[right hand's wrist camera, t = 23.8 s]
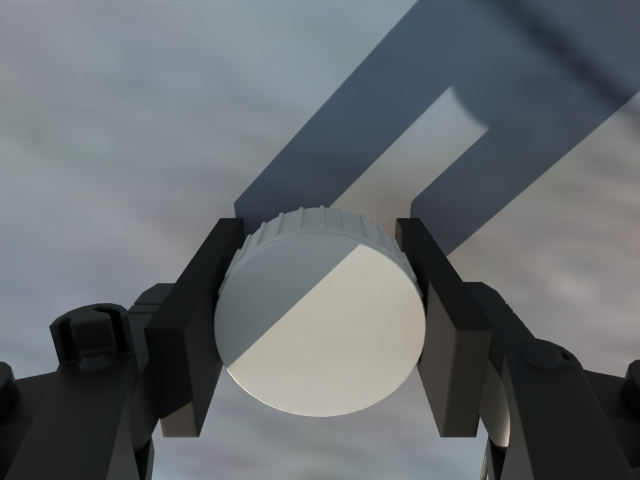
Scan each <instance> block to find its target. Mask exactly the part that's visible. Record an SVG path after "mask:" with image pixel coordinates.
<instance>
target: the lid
mask: <svg viewBox="0 0 640 480" xmlns="http://www.w3.org/2000/svg"><path fill="white" fill-rule="evenodd" d="M416 280H417V278H416V276H415V274H414V272H413V270H412V268H411V265H410V263H409V261H408V259H407V257H406V255H405V253H404V252H402V253H401V251H400V248H399V246H398V244H397V242H396V240H395V238H394V237H392V238H390V237H389V236H388V235H387V234H386V233H385V232H384V231H383V229H382V226H381V225H380V224H378V225H376V224H374V223H373V222H371V221H369V220H367V219H366V218H365V216H364V215H363V214H360V216H359V215H357V214H354V213H352V212H348V211H345V208H341V210H340V209H333V208H324V205H320V208H307V209H304V208H303V207H299V210H296V211H292V212H289V213H286V214H284V213H283V212H282V213H280V214H279V217H277V218H275V219H273V220H271V221H269V222H268V223H266V222H263V223H262V225H261V227H260V228H259V229H258V230H257V231H256V232H255V233H254V234H253V235H251V234H249V235H248V236H247V238H246V241H245V243H244V245H243V247H242V249H241V250H240V249H238V250H237V252H236V254H235V256H234V258H233V260H232V262H231V264H230V266H229V268H228V271H227V273H226V275H225V278H224V280H223V283H222V285H221V287H220V289H219V291H218V294H217V295H219V299H218V301H217V304H216V309H215V314H214V332H215V341H216V346H217V350H218V352H219V355H220V357H221V360H222V362H223V364H224V365H225V367H226V369H227V370H228V372H229V373H230V374H231V376H232V377H233V378H234V379H235V381H236V382H237V383H238V384H239V385H240V386H241V387H242V388H243V389H244V390H246V391H247V392H248V393H250V394H251V395H252V396H254V397H255V398H257V399H258V400H260V401H262V402H264V403H265V404H268V405H270V406H272V407H274V408H277V409H280V410H283V411H286V412H289V413H294V414H298V415H306V416H335V415H342V414H347V413H351V412H355V411H358V410H361V409H364V408H366V407H368V406H371V405H373V404H375V403H377V402H378V401H380V400H382V399H384V398H385V397H387V396H388V395H389V394H391V393H392V392H393V391H395V390H396V389H397V388H398V387H399V386H400V385H401V384H402V383H403V382H404V381H405V380H406V379H407V377H408V376H409V375H410V374H411V372H412V371H413V369H414V367H415V366H416V364H417V362H418V360H419V358H420V355H421V353H422V350H423V346H424V338H425V328H426V313H425V308H424V304H423V301H422V299H423V294H422V292H421V290H420V288H419V286H418V283H417V281H416Z"/></svg>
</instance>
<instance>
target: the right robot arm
mask: <svg viewBox="0 0 640 480" xmlns="http://www.w3.org/2000/svg"><path fill="white" fill-rule="evenodd" d="M395 240H396V242H397V244H398V246H399V248H400V251H401V253H402V252H404V253H405V255H406V257H407V259H408V261H409V263H410V265H411V268H412V270H413V272H414V274H415V276H416V278H417V280H416V281H417V283H418V286H419V288H420V290H421V292H422V294H423V299H422V301H423V304H424V308H425V313H426V328H425V338H424V346H423V350H422V353H421V355H420V358H419V360H418V362H417V364H416V365H417V368H418V371H419V374H420V377H421V380H422V383H423V386H424V389H425V392H426V395H427V398H428V401H429V404H430V407H431V410H432V413H433V416H434V419H435V422H436V425H437V428H438V431H439V434H440V437H476V435H477V429H478V424H479V418H480V417H481V419H482V421H483V423H484V426H485V428H486V430H487V432H488V434H489V435H488V441H487V446H486V451H485V456H484V461H483V466H482V471H481V478H480V479H481V480H486V478H487V473H488V477H489V480H640V360H635V361H634V362H632V363H631V364H629V367H628V370H627V373H626V376H625V378H622V377H617V376H612V375H607V374H602V373H596V372H591V371H587V370H584V369H583V368H582V365H581V363H580V362H579V361H578V360H577V358H576V357H575V356H574V355H573V354H572V353H570V352H569V351H567V350H566V349H565V348H563V347H561V346H559V345H556V344H554V343H552V342H549V341H545V340H541V339H537V338H535V337H534V336H533V335H532V333H531V332H530V331H529V330H528V329H527V327H526V326H525V325H524V324H523V322H522V321H521V320H520V319H519V318H518V316H517V315H516V314H515V313H513V310H512V309H511V308H510V307H509V305H508V304H506V302H505V300H504V299H503V298H502V297H501V296H500V294H499V293H498V292H497V291H496V290H494V289H493V288H491V287H489V286H488V285H486V284H484V283H483V282H463V281H462V279H461V278H460V277H459V275H458V274H457V272H456V271H455V269H454V268H453V267H452V265H451V264H450V262H449V261H448V259H447V258H446V256H445V255H444V254H443V252H442V251H441V249H440V248H439V246H438V245H437V243H436V242H435V241H434V239H433V238H432V236H431V235H430V233H429V232H428V231H427V229H426V228H425V226H424V225H423V223H422V222H421V220H420V219H419V218H396V232H395ZM244 243H245V241H244V227H243V218H220V219H219V221H218V222H217V224H216V225H215V227H214V228H213V230H212V231H211V232H210V234H209V235H208V237H207V238H206V240H205V241H204V243H203V244H202V245H201V247H200V248H199V250H198V251H197V253H196V254H195V256H194V257H193V258H192V260H191V261H190V263H189V264H188V266H187V267H186V268H185V270H184V271H183V273H182V274H181V276H180V277H179V279H178V280H177V281H176V283H158V284H156V285H154V286H153V287H151V288H149V289H148V290H146V291H144V292H143V293H142V294H141V295H140V297H139V298H138V299H137V300H136V301H135V303H134V305H132V306H131V308H130V309H129V310H128V311H127V309H125V308H124V307H122V306H121V305H117V304H112V303H101V304H93V305H88V306H83V307H80V308H77V309H75V310H72V311H69V312H67V313H65V314H64V315H62V316H60V317H59V318H57V319H56V320H55V321H54V322H53V323H52V324H51V325H50V326H49V327H50V331H51V334H52V338H53V342H54V345H55V349H56V352H57V356H58V360H59V363H60V364H59V366H58V368H57V370H56V372H52V373H48V374H43V375H38V376H32V377H27V378H22V379H17V380H15V378H14V375H13V372H12V369H11V367H10V366H9V365H8V364H6V363H5V362H0V480H151V478H152V470H153V461H154V446H153V441H152V433H153V431H154V429H155V427H156V424H157V422H158V420H159V418H160V421H161V427H162V432H163V437H199V435H200V432H201V429H202V426H203V423H204V420H205V417H206V414H207V411H208V408H209V405H210V402H211V399H212V396H213V393H214V390H215V387H216V384H217V381H218V378H219V375H220V372H221V369H222V366H223V362H222V360H221V357H220V355H219V352H218V350H217V346H216V341H215V332H214V314H215V309H216V304H217V301H218V299H219V295H217V294H218V291H219V289H220V287H221V285H222V283H223V280H224V278H225V275H226V273H227V271H228V268H229V266H230V264H231V262H232V260H233V258H234V256H235V254H236V252H237V250H238V249H240V250H241V249H242V247H243V245H244Z"/></svg>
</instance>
